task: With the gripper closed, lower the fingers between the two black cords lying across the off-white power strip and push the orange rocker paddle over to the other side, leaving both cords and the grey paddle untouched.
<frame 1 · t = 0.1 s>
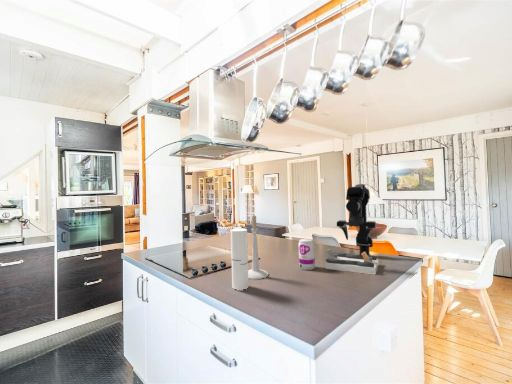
hand: (356, 240, 135), 15 cm above the counter, tool pointing down, fingers open, 9 cm apart
cylindrical container: (240, 287, 113), on the counter
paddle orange: (366, 257, 135), point 6 cm above the counter, hinge at -30.3°
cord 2: (354, 258, 145), point 3 cm above the counter, touching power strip
candlestick: (255, 275, 129), on the counter
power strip: (352, 266, 138), on the counter
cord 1: (349, 264, 132), point 3 cm above the counter, touching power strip
supplement can: (307, 268, 138), on the counter
paddle grey: (331, 254, 144), point 6 cm above the counter, hinge at -30.3°
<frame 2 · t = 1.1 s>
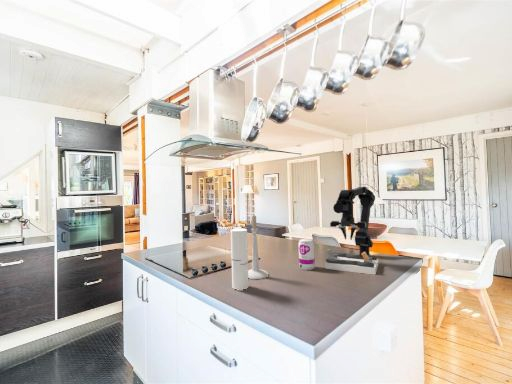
hand: (348, 239, 147), 13 cm above the counter, tool pointing down, fingers open, 3 cm apart
nothing on the counter moved.
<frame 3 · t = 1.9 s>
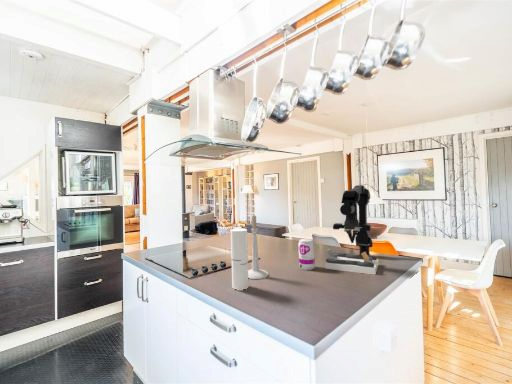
hand: (352, 243, 138), 13 cm above the counter, tool pointing down, fingers closed
nothing on the counter moved.
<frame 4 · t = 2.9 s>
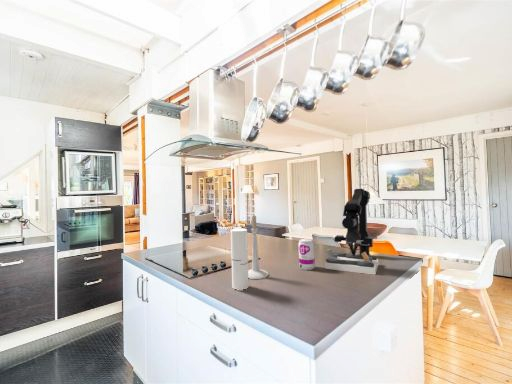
hand: (353, 255, 138), 6 cm above the counter, tool pointing down, fingers closed
nothing on the counter moved.
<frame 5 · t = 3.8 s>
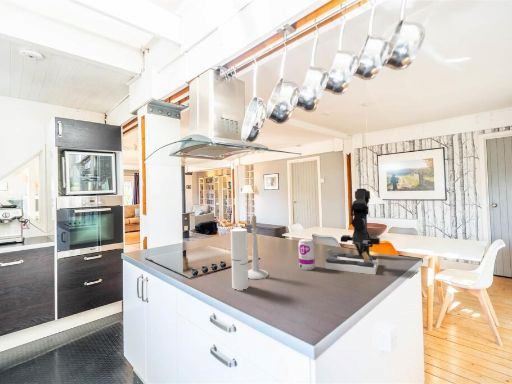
hand: (360, 255, 136), 6 cm above the counter, tool pointing down, fingers closed
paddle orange: (366, 257, 135), point 6 cm above the counter, hinge at -26.9°, touching gripper
everything else where it was.
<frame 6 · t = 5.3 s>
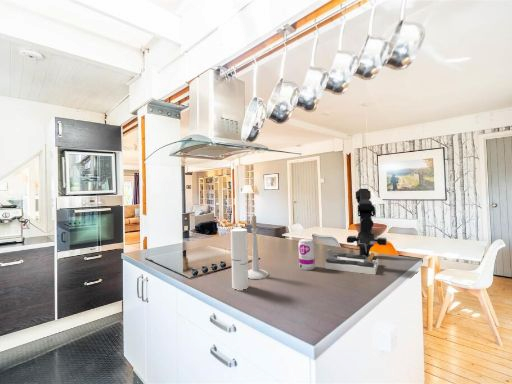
hand: (366, 256, 135), 6 cm above the counter, tool pointing down, fingers closed
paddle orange: (370, 257, 134), point 6 cm above the counter, hinge at 30.3°
everything else where it was.
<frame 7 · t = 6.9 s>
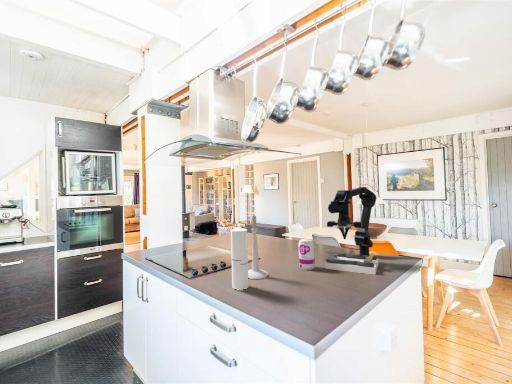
hand: (344, 239, 149), 13 cm above the counter, tool pointing down, fingers closed
nothing on the counter moved.
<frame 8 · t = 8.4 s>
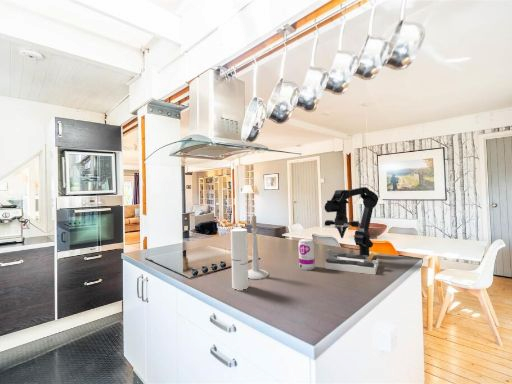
hand: (342, 238, 151), 13 cm above the counter, tool pointing down, fingers closed
nothing on the counter moved.
at the end: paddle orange at +30° (first picture: -30°); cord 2 moved 0.1 cm from its start; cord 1 moved 0.1 cm from its start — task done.
